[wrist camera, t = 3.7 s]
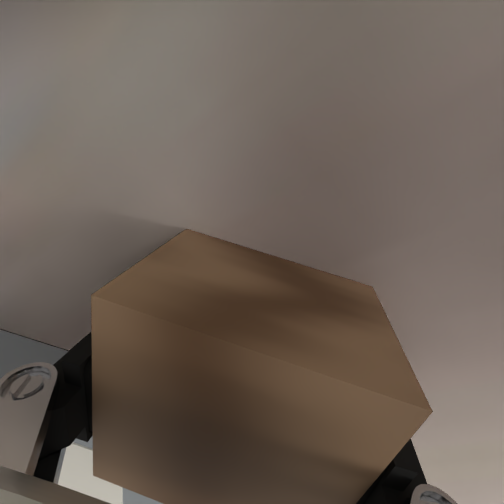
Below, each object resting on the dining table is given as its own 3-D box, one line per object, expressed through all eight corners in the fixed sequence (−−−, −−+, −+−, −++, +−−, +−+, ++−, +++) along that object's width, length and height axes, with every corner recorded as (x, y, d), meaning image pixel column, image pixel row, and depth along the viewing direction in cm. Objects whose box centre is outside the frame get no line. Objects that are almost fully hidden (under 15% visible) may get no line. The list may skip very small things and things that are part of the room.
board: (201, 393, 14) (179, 444, 11) (180, 522, 19) (163, 574, 17) (-30, 320, 15) (-93, 352, 13) (14, 460, 21) (-24, 500, 18)
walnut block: (372, 286, 10) (432, 411, 5) (307, 412, 13) (307, 561, 8) (186, 228, 10) (91, 294, 6) (166, 362, 13) (92, 475, 9)
